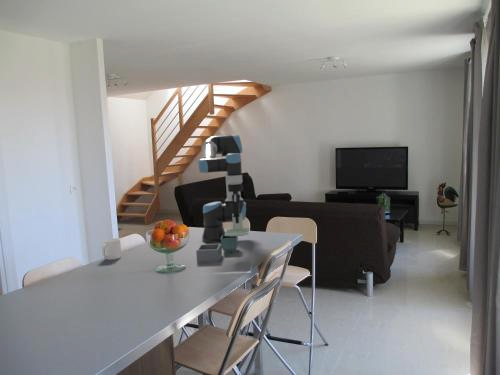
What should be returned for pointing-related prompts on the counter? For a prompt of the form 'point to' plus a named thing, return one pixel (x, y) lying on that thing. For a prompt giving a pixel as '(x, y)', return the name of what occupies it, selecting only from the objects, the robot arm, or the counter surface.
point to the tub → (209, 253)
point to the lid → (237, 232)
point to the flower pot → (229, 243)
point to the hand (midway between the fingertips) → (238, 228)
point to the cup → (112, 249)
